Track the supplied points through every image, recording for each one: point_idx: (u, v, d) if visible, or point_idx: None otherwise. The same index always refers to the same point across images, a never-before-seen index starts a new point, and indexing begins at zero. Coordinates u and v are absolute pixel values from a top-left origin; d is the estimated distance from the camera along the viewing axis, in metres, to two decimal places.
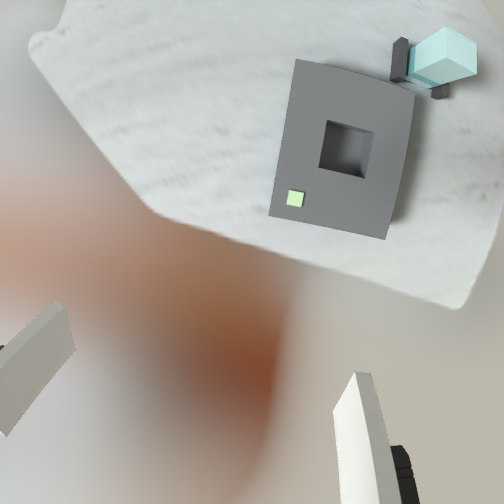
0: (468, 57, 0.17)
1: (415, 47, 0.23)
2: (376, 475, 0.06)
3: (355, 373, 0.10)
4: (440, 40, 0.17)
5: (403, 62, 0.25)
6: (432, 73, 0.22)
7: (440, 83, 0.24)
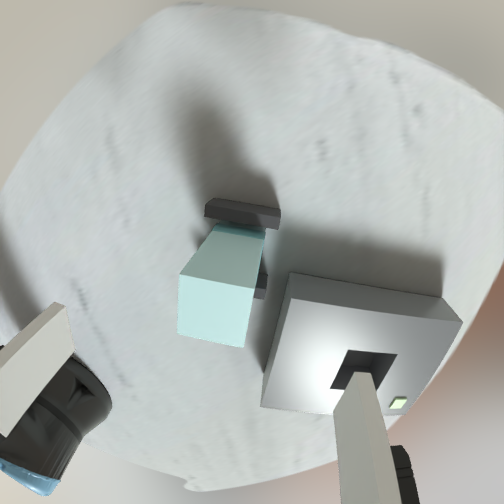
0: (223, 302, 0.15)
1: None
2: (376, 475, 0.06)
3: (355, 373, 0.10)
4: None
5: None
6: None
7: (263, 243, 0.22)
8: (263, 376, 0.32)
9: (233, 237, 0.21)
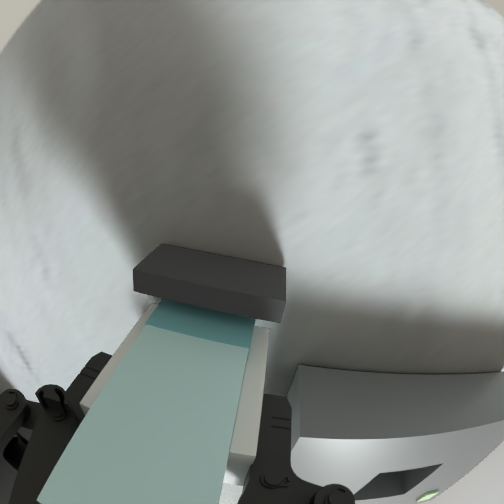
0: None
1: None
2: (238, 411, 0.08)
3: None
4: None
5: None
6: None
7: (247, 356, 0.10)
8: None
9: (183, 349, 0.10)
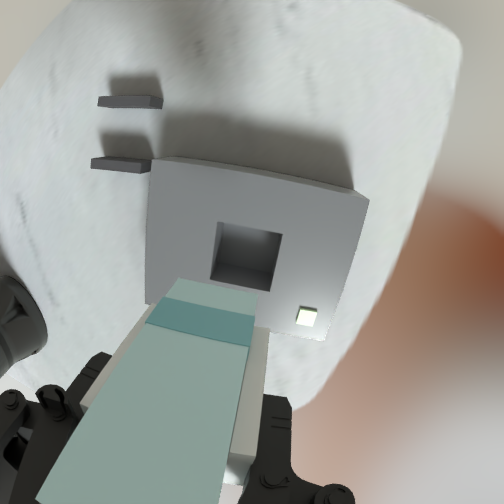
0: None
1: None
2: (238, 411, 0.08)
3: None
4: None
5: (121, 166, 0.24)
6: None
7: (247, 355, 0.10)
8: None
9: (182, 347, 0.09)
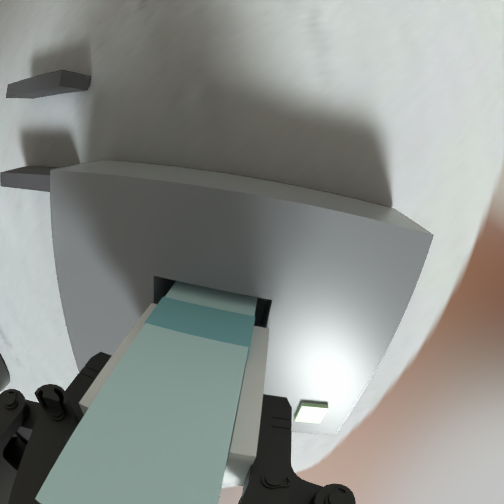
0: None
1: None
2: (238, 412, 0.08)
3: None
4: None
5: (29, 181, 0.14)
6: None
7: (247, 355, 0.10)
8: None
9: (182, 347, 0.09)
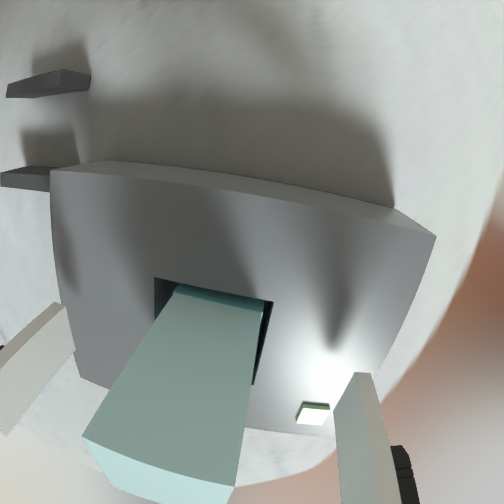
0: (174, 486, 0.06)
1: None
2: (376, 475, 0.06)
3: (355, 373, 0.10)
4: None
5: (29, 181, 0.14)
6: None
7: None
8: None
9: (207, 312, 0.12)
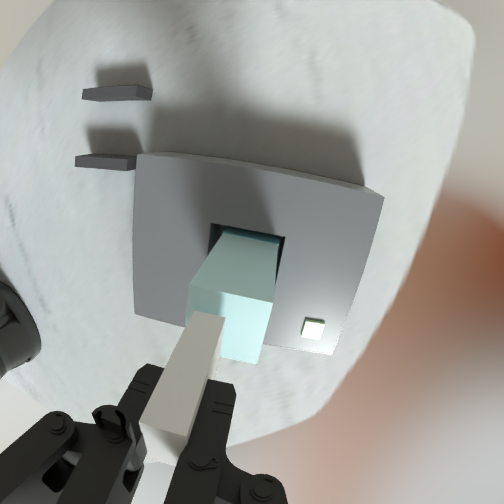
0: (237, 316, 0.14)
1: None
2: (177, 392, 0.08)
3: (209, 315, 0.13)
4: None
5: (106, 163, 0.22)
6: None
7: None
8: None
9: (245, 242, 0.20)
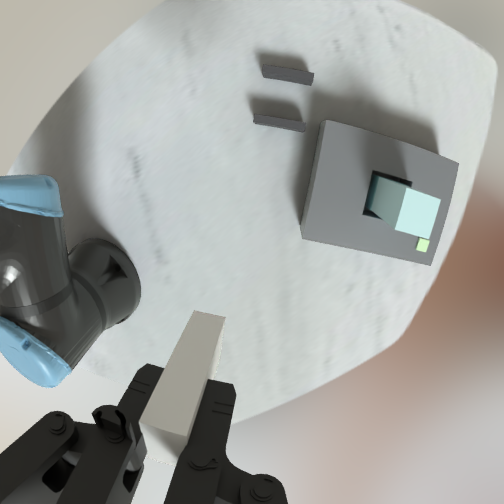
0: (425, 207, 0.23)
1: (372, 210, 0.31)
2: (177, 392, 0.08)
3: (209, 315, 0.13)
4: None
5: (286, 123, 0.31)
6: None
7: None
8: (300, 226, 0.38)
9: (395, 182, 0.29)
